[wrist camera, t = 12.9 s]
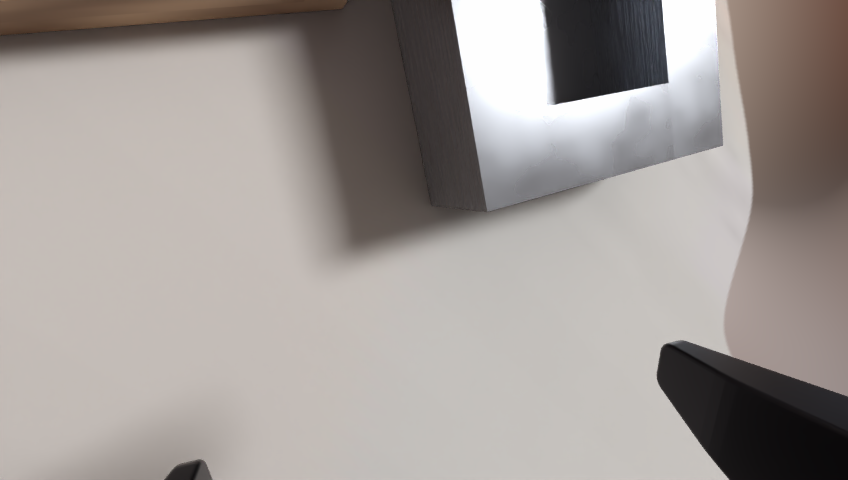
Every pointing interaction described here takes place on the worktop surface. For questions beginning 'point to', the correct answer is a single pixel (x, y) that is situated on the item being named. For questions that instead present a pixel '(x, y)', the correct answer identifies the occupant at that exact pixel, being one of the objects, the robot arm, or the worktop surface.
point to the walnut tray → (137, 12)
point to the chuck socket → (555, 92)
